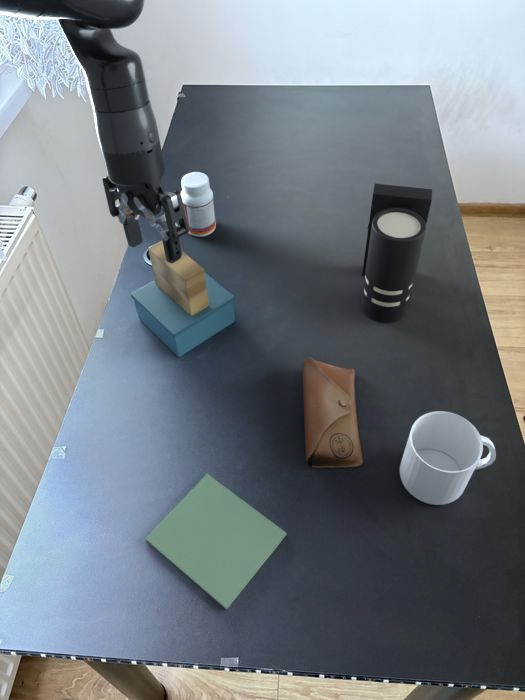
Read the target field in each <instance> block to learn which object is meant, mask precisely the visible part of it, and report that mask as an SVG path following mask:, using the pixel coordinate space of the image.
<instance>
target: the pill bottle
mask: <svg viewBox="0 0 525 700" xmlns="http://www.w3.org/2000/svg"><path fill="white" fill-rule="evenodd" d="M180 180H181V181H180V183H181V189H182V190H181V191H180V194H181V197H182V201H183V206H184V210H185V215H186V219H187V224H188V228H189V232H188V233H187V234H188V235H191V236H193V237H199V238H200V237H202V238H203V237H207V236H209V235H211V234H212V233H213V232H214V231H215V230H216V227H217V221H216V212H215V203H214V193H213V190H212V188H211V187H210V178H209V176H208V175H207V174H205V173H203V172H201V171H192V172H188V173H186V174H184V175H183V176H182V178H181V179H180Z"/></svg>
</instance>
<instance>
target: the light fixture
mask: <svg viewBox="0 0 525 700" xmlns="http://www.w3.org/2000/svg"><path fill="white" fill-rule="evenodd" d="M432 201H433V189H432V188H425V187H414V186H413V187H412V186H406V185H405V186H403V185H392V184H384V183H374V184H373V191H372V198H371V205H370V213H369V221H368V224H367V226H366V228H367V235H366V242H365V249H364V258H363V265H362V272H361V276H362V277H363V286H362V293H361V299H360V308H361V311H362V312H363V313H364V315H365V316H366V317H368V318H369V319H371V320H373V321H375V322H379V323H394V322H397V321H400V320H401V319H403V318H404V317H406V315H407V313H408V309H409V304H410V301H411V296H412V293H413V288H414V283H415V278H416V275H417V270H418V265H419V261H420V258H421V257H420V256H421V252H422V248H423V244H424V240H425V235H426V230H427V223H428V218H429V214H430V210H431V206H432Z"/></svg>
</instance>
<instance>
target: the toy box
mask: <svg viewBox="0 0 525 700" xmlns="http://www.w3.org/2000/svg"><path fill="white" fill-rule="evenodd" d="M205 280H206V287H207V294H208V302H209V306H208V307H206V308H204V309H203V310H201V311H200V312H198V313H196V314H195V315H193V316H191V315H189V314H188V313H187V312H186V311H185V310H184V309H183V308H182V307H181V306H179V305H178V304H177V303H176V302H175V301H174V300H173V299H172V298H171V297H169V296H168V295H167V294H166V293H165V292H164V291H163V290H162V289H160V288H159V287H158V286H157V285H156V282H155V279H153V280H152V281H150V282H148V283H147V284H145V285H143V286H141V287H139V288H138V289H136V290H134V291H133V292H130V298H132V300H133V303H134V307H135V310H136V313H137V317H138V319H139V320H140V321H141V322H142V323H143V324H144V325H145V326H146V327H147V328H148V329H149V330H150V331H151V332H152V333H153V334H154V335H155V336H156V337H157V338H158V339H159V340H160V341H161V342H162V343H163V344H164V345H166V346H167V347H168V348H169V350H171V352H173V353H174V354H175V355H176V356H177V358H181V357H182V356H184V355H185V354H187V353H188V352H190V351H192V350H193V349H195V348H196V347H198V346H200V345H201V344H203V343H204V342H205V341H206V340H209V338H212V337H213V336H215V335H216V334H218V333H219V332H221V331H222V330H224V329H225V328H227V327H228V326H231V325H232V324H233V323H236V316H235V314H236V313H235V305H234V301H235V300H236V298H235V297H236V296H235V295H233V294H232V293H231V292H230V291H229V290H227V289H226V288H225V287H224V286H222V284H221V283H219V282H218V281H216V280H215V279H214V278H213V277H211V275H209V274H208V273H206V272H205Z"/></svg>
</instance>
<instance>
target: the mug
mask: <svg viewBox="0 0 525 700" xmlns="http://www.w3.org/2000/svg"><path fill="white" fill-rule="evenodd" d="M484 446H486V447H487V449H488V450H489V452H488V454H487V456H486V457H484V458H482V456H483V452H484ZM496 458H497V451H496V448H495V444H494V443H493V441H492V440H491V439H490V438H489V437H488V436H484V435H481V434H480V432H479V430H478V429H477V428H476V426H475V425H474V424H473V423H471V422H470V421H469V420H468V419H466V418H465V417H463V416H461V415H459V414H457V413H454V412H451V411H445V410H435V411H430V412H427V413H424V414H422V415H421V416H419V417H418V418H417V419H416V420H415V421H414V422H413V424H412V426H411V429H410V431H409V435H408V437H407V440H406V445H405V448H404V451H403V453H402V457H401V461H400V464H399V477H400V481H401V483H402V485H403V486H404V488H405V490H406V491H407V492H408V493H409V494H410V495H412V496H413V497H414V498H415V499H416V500H419V501H420V502H423V503H425V504H429V505H434V506H443V505H448V504H451V503H453V502H454V501H456V500H458V499H459V498H460V497H461V496H462V495H463V494H464V492H465V489H466V487H467V485H468V483H469V481H470V480H471V477H472V476H473V473H474V472H475V470H480V469H484V468H486V467H489V466H491V465H493V463H494V462H495V460H497V459H496Z"/></svg>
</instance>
